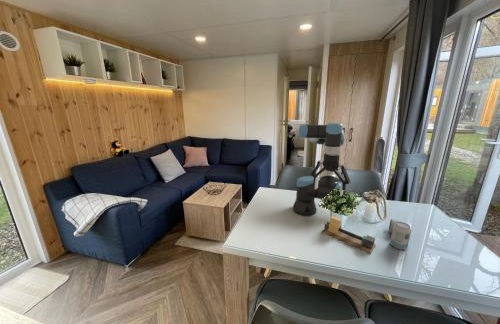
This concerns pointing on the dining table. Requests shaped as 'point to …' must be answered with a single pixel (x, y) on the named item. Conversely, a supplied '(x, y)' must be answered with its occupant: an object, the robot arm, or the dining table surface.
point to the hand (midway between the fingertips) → (328, 191)
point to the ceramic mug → (392, 225)
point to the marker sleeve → (334, 225)
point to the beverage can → (400, 235)
